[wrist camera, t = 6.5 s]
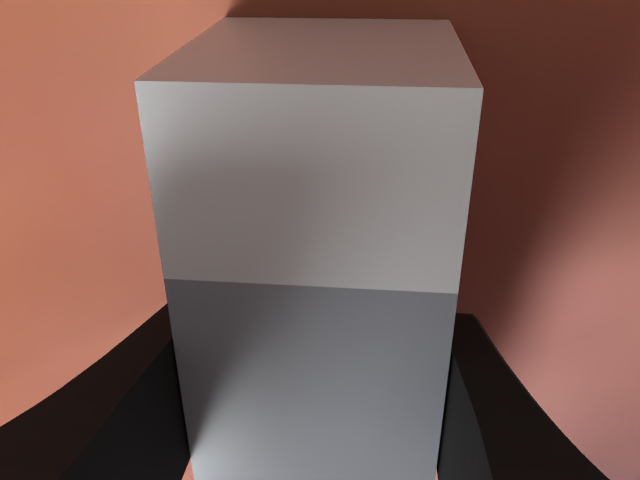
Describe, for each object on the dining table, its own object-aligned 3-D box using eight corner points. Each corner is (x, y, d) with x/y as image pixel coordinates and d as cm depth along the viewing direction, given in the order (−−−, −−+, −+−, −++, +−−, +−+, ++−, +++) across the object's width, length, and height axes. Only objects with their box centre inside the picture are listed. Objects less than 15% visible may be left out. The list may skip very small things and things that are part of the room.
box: (255, 421, 18) (210, 593, 13) (225, 16, 12) (134, 80, 8) (410, 432, 17) (418, 614, 13) (449, 19, 12) (484, 87, 7)
